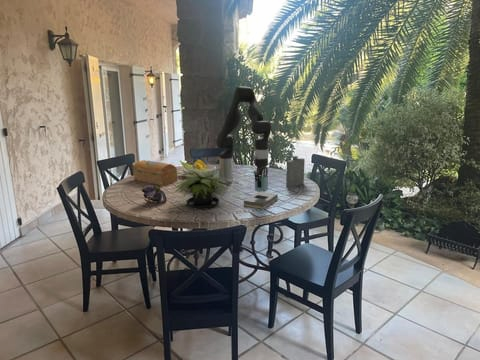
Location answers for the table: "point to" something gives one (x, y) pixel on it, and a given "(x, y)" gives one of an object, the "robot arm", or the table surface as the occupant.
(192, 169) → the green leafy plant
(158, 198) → the dark grey rounded piece
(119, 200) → the table surface
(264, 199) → the block
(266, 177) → the plug
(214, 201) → the fern plant
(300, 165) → the hip flask
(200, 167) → the fruit bowl
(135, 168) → the wooden box
